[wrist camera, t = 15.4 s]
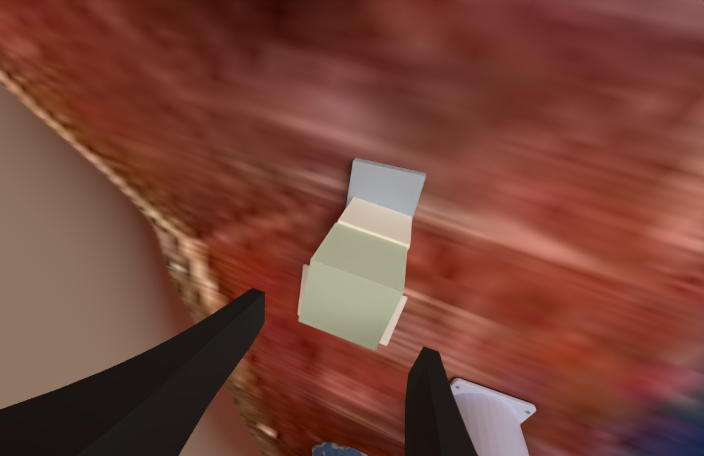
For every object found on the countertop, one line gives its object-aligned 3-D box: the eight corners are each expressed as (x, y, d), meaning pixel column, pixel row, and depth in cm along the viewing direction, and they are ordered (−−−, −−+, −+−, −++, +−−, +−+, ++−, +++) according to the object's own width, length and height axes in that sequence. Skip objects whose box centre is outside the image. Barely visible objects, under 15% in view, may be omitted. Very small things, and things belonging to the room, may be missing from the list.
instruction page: (387, 344, 26) (386, 346, 26) (298, 313, 27) (296, 315, 27) (407, 297, 22) (407, 299, 22) (304, 263, 23) (302, 265, 23)
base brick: (392, 276, 23) (390, 287, 21) (340, 261, 23) (335, 271, 22) (425, 170, 18) (425, 176, 16) (357, 155, 18) (353, 160, 17)
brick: (391, 263, 20) (385, 297, 17) (340, 245, 21) (324, 274, 17) (411, 216, 18) (410, 245, 14) (353, 196, 18) (338, 219, 15)
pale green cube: (384, 299, 17) (375, 351, 13) (322, 276, 17) (298, 321, 14) (407, 246, 15) (403, 292, 11) (335, 222, 15) (310, 259, 12)
